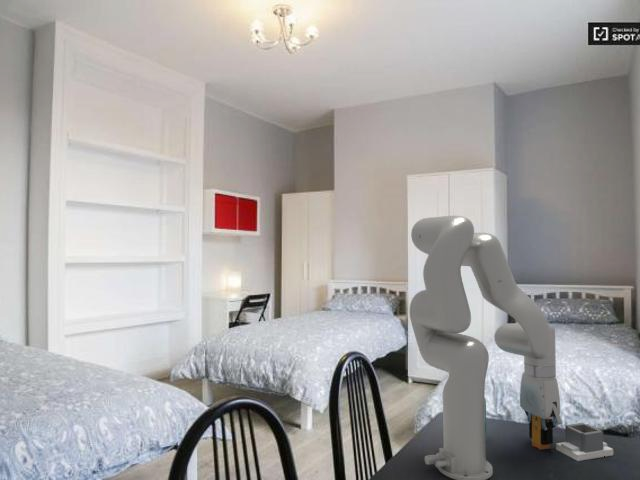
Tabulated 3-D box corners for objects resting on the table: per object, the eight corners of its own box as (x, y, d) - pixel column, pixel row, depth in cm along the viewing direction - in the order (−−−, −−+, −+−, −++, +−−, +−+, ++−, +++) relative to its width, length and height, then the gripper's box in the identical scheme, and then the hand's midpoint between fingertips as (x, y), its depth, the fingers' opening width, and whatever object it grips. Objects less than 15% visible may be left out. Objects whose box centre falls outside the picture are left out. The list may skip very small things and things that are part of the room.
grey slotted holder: (577, 461, 117) (577, 436, 117) (556, 449, 124) (555, 426, 124) (613, 455, 120) (612, 431, 120) (590, 443, 127) (590, 421, 127)
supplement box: (551, 448, 125) (550, 409, 125) (540, 450, 124) (539, 411, 124) (541, 443, 128) (541, 405, 128) (531, 445, 127) (530, 407, 127)
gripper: (506, 364, 133) (507, 430, 133) (551, 380, 117) (552, 456, 117) (529, 361, 135) (530, 427, 135) (576, 377, 119) (577, 452, 119)
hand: (540, 440), depth 126 cm, fingers open, 3 cm apart
